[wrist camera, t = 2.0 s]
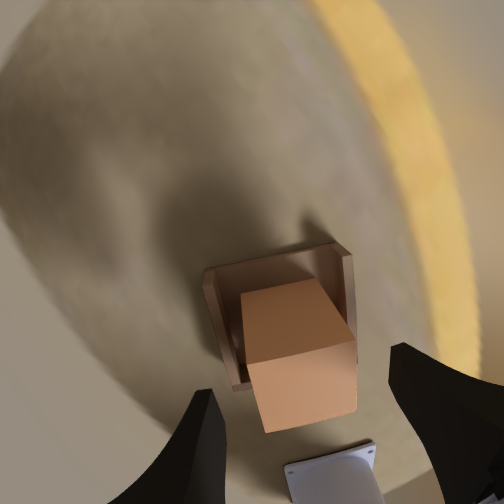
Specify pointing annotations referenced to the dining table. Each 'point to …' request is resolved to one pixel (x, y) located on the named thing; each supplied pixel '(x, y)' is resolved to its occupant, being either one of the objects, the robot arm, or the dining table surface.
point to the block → (298, 355)
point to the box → (266, 276)
